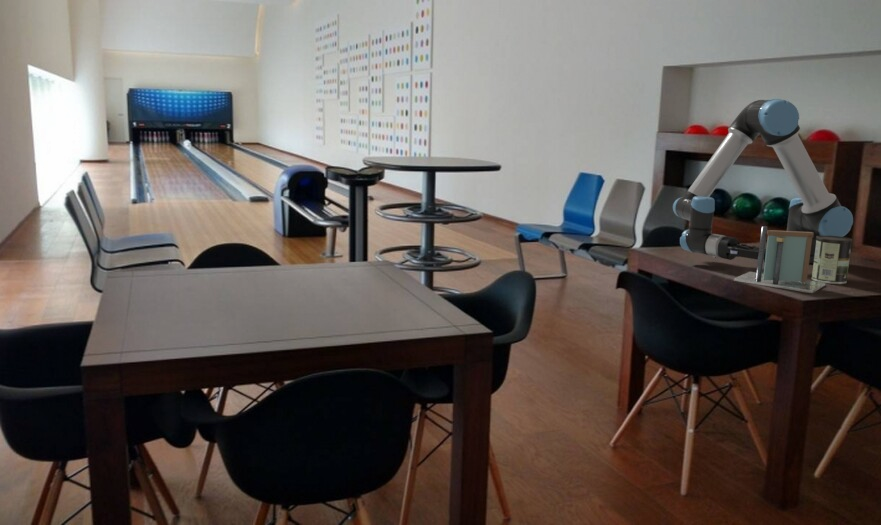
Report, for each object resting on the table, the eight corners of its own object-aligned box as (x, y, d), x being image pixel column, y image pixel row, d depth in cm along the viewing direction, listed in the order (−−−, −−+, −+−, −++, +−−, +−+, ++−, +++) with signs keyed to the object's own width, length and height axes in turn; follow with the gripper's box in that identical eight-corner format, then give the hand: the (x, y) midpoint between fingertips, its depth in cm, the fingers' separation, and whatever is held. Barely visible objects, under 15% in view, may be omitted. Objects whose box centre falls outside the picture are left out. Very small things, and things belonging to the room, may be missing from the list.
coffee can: (840, 278, 243) (846, 236, 240) (851, 285, 233) (857, 241, 230) (807, 276, 245) (812, 234, 242) (816, 283, 235) (821, 239, 232)
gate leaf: (763, 280, 230) (769, 230, 227) (761, 278, 231) (767, 230, 228) (807, 282, 228) (813, 233, 225) (805, 281, 230) (811, 232, 227)
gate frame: (812, 293, 220) (820, 233, 217) (733, 280, 235) (740, 224, 231) (824, 285, 231) (832, 228, 228) (749, 273, 246) (755, 220, 242)
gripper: (733, 256, 253) (799, 269, 234) (709, 259, 246) (775, 273, 227) (736, 234, 251) (802, 246, 232) (712, 237, 244) (779, 249, 225)
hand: (789, 259), depth 229 cm, fingers closed
